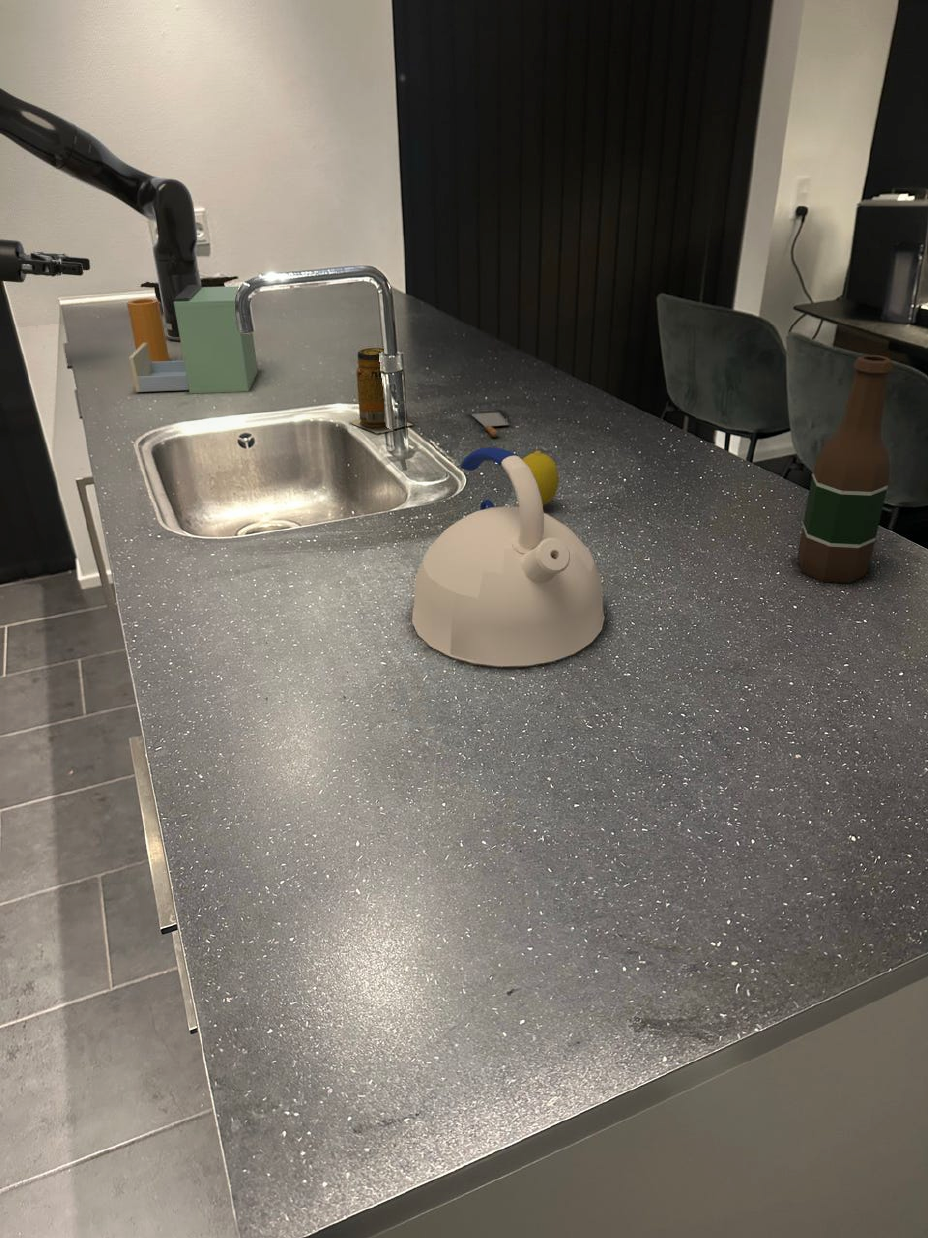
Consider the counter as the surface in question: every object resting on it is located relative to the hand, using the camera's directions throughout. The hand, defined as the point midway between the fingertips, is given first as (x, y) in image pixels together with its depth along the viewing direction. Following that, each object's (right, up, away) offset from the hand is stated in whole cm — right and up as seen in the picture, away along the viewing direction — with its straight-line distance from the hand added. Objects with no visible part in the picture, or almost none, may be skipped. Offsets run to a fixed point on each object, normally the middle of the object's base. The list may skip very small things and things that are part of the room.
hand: (86, 266), depth 176 cm
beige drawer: (+17, -23, -1) cm, 28 cm away
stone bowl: (+2, +13, +62) cm, 63 cm away
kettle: (+78, -69, -80) cm, 131 cm away
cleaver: (+79, -37, -26) cm, 91 cm away
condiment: (+60, -36, -24) cm, 74 cm away
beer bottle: (+116, -63, -72) cm, 150 cm away
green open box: (+27, -23, 0) cm, 35 cm away
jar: (+10, -16, +11) cm, 22 cm away
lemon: (+83, -54, -56) cm, 114 cm away
